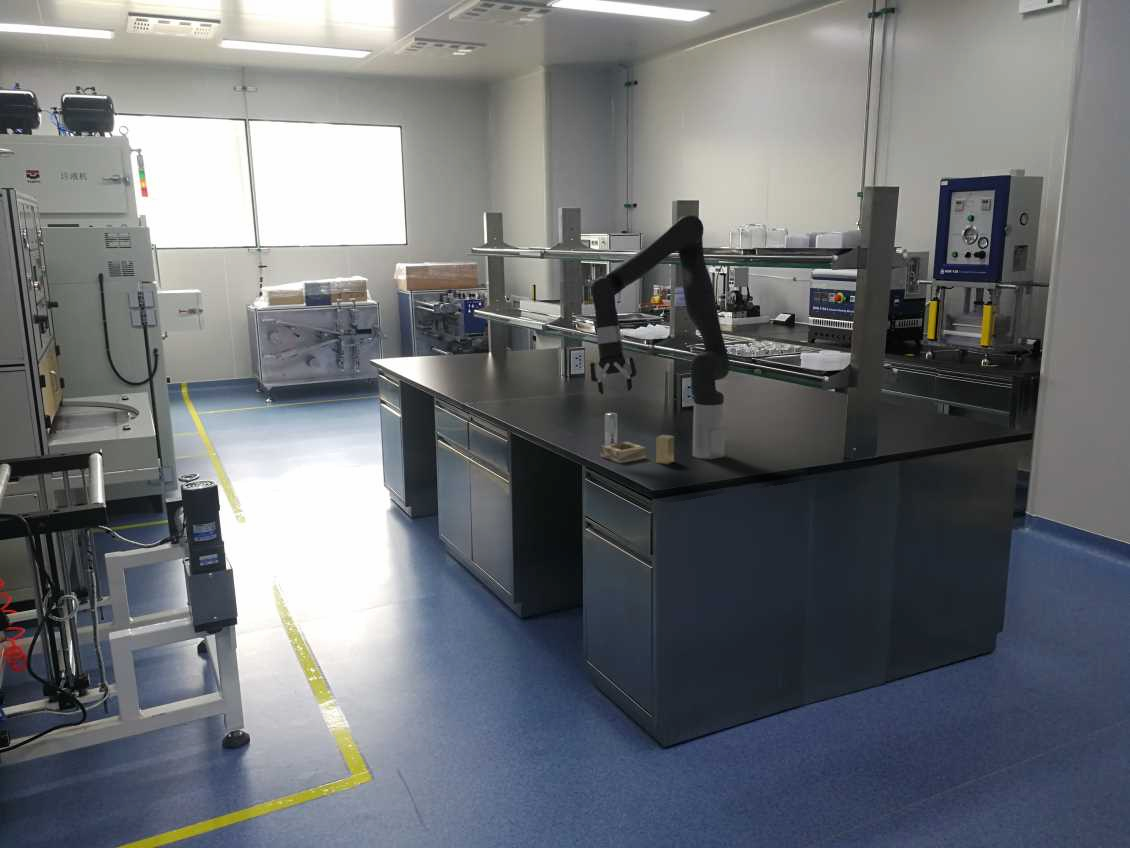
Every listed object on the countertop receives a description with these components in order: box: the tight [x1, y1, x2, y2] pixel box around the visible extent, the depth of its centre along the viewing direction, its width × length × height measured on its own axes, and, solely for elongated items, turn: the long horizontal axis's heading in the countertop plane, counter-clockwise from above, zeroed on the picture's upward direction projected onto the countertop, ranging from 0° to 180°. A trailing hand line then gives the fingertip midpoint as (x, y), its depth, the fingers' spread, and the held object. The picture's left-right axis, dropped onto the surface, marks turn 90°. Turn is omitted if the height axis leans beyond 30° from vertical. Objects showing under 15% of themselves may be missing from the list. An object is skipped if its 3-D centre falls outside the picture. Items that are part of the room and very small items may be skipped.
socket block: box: [600, 440, 646, 464], centre depth 268 cm, size 10×10×4 cm
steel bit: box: [604, 412, 618, 445], centre depth 277 cm, size 4×4×12 cm
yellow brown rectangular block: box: [655, 434, 675, 465], centre depth 262 cm, size 4×4×8 cm
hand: (615, 392), depth 269 cm, fingers open, 8 cm apart
